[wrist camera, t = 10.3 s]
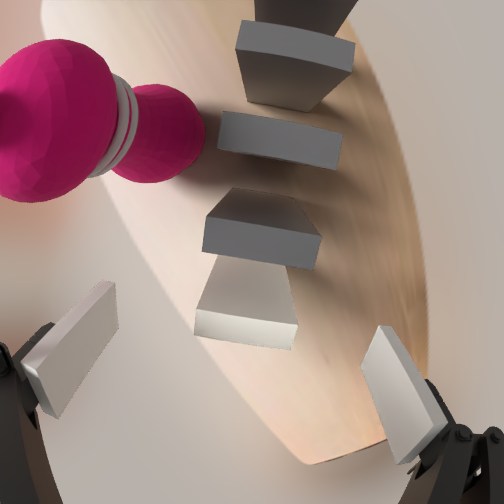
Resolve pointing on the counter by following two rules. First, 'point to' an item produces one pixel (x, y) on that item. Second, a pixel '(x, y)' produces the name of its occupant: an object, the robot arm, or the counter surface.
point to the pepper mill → (86, 124)
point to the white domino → (247, 304)
